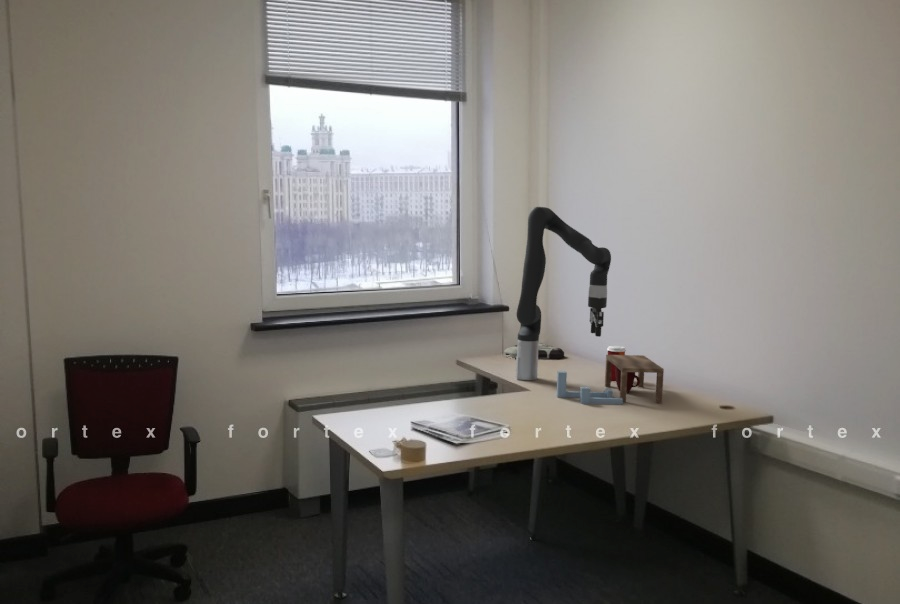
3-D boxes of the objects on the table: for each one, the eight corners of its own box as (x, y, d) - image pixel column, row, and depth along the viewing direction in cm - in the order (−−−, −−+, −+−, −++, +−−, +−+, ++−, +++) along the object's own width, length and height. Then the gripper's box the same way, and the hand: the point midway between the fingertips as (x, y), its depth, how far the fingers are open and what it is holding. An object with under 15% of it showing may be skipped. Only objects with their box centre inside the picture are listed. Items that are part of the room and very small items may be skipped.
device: (526, 349, 426) (526, 340, 426) (573, 354, 413) (573, 345, 412) (499, 358, 398) (500, 348, 397) (549, 364, 384) (549, 354, 384)
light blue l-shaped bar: (558, 397, 309) (558, 372, 308) (556, 395, 314) (557, 370, 313) (612, 399, 309) (613, 374, 308) (609, 396, 314) (611, 371, 313)
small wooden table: (620, 402, 304) (622, 368, 303) (604, 385, 334) (606, 354, 332) (661, 403, 304) (663, 369, 303) (642, 386, 334) (643, 355, 333)
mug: (642, 392, 324) (644, 368, 322) (636, 395, 317) (637, 371, 316) (618, 388, 329) (619, 365, 328) (611, 391, 322) (612, 368, 321)
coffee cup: (626, 382, 342) (627, 348, 340) (607, 382, 342) (608, 348, 340) (622, 378, 350) (624, 345, 348) (603, 378, 350) (605, 345, 348)
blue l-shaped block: (581, 403, 300) (581, 388, 300) (579, 401, 303) (580, 386, 303) (622, 404, 300) (623, 389, 300) (621, 402, 304) (621, 387, 303)
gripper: (584, 293, 330) (583, 332, 332) (592, 297, 316) (590, 337, 318) (602, 294, 331) (600, 332, 332) (610, 297, 316) (608, 337, 318)
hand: (595, 334), depth 325 cm, fingers open, 8 cm apart
